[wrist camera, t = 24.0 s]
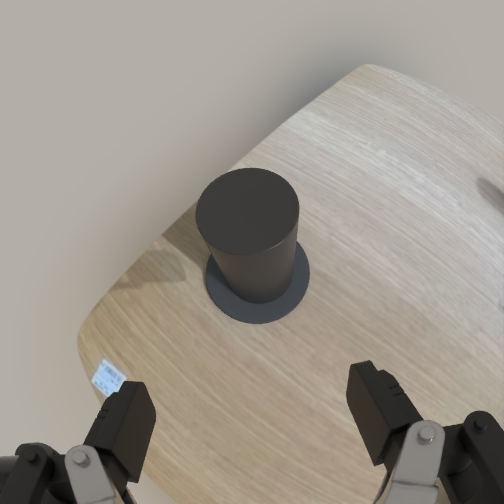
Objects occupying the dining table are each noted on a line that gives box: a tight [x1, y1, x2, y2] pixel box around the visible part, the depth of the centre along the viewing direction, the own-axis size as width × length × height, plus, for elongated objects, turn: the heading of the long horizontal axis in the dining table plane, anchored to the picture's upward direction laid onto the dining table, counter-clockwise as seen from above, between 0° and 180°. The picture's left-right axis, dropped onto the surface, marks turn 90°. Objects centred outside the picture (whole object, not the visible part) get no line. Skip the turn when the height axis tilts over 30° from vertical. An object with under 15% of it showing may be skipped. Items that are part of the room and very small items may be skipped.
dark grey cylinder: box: [196, 168, 299, 304], centre depth 19 cm, size 6×6×10 cm
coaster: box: [206, 241, 310, 324], centre depth 24 cm, size 9×9×1 cm
